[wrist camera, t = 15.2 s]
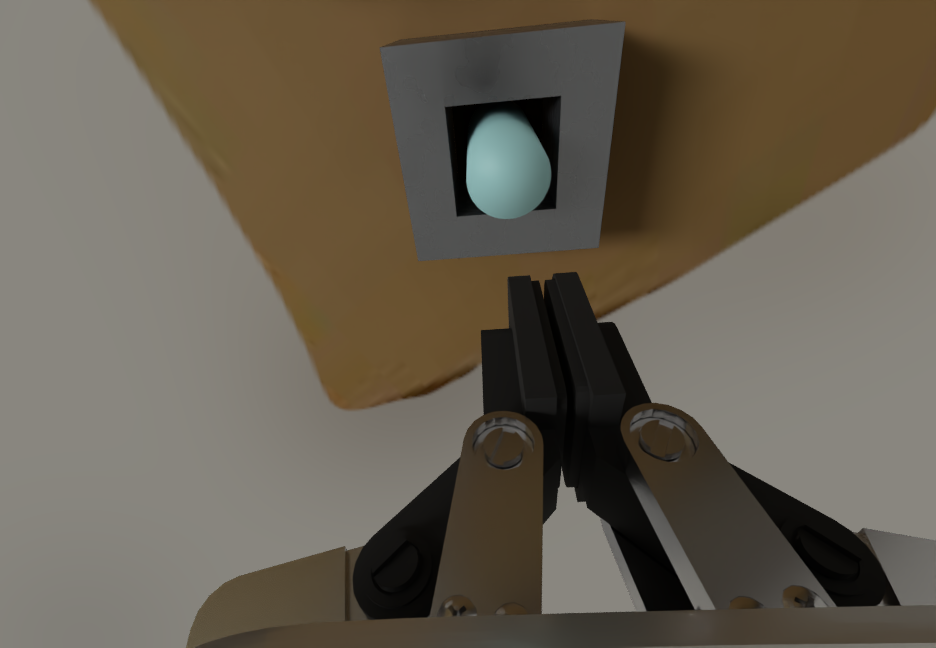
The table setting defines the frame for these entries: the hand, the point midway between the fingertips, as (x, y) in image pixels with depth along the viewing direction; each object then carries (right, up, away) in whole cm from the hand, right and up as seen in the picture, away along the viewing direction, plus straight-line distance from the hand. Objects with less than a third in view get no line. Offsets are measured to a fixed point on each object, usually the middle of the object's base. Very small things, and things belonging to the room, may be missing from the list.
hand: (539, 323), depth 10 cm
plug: (0, +14, +19) cm, 23 cm away
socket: (0, +14, +19) cm, 23 cm away
